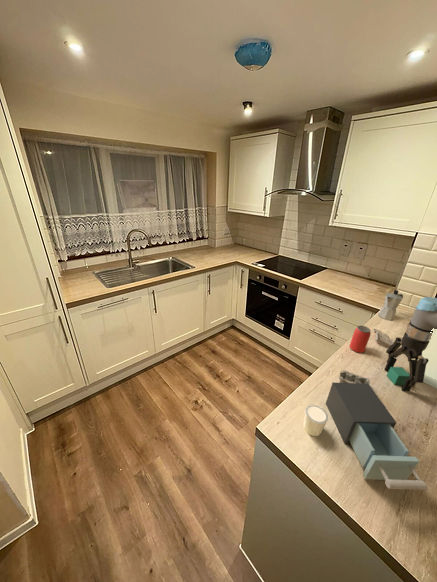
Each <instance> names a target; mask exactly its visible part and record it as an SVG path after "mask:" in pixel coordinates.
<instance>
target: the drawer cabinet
mask: <svg viewBox="0 0 437 582" xmlns="http://www.w3.org/2000/svg"><path fill="white" fill-rule="evenodd" d="M325 405H326V407H327V409H328V411H329V414H330V415H331V418H332V419H333V422H334V425H335V427H336V429H337V431H338V433H339V435H340V437H341V439H342V442H343V444H345V445H347V444H348V445H351V443H350V441H349V438H350V435H351V433H352V431H353V428H354V426H355V424H356V423H366V424H390V425H391V426H392V427H393V429H394V428H395V427H396V425H397V421H396V419H395V418H394V417H393V416H392V414H391V413H390V411H389V410H388V408H387V406H385V404H384V402H382V400H381V399H380V397H379V396H378V394H377V393H376V392H375V390H374V389H373V388H372V387H371V384H370V383H369V384H363V383H339V382H332V384H331V386H330V389H329V392H328V395H327V398H326V401H325Z"/></svg>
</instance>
